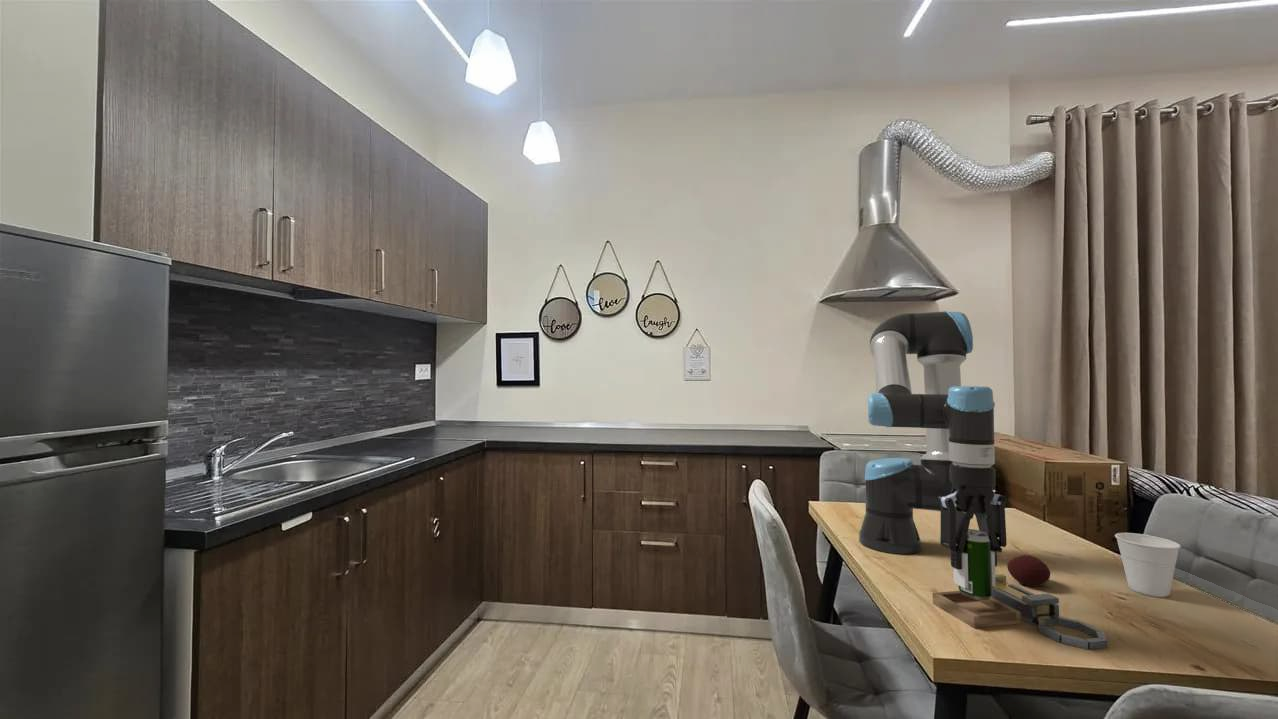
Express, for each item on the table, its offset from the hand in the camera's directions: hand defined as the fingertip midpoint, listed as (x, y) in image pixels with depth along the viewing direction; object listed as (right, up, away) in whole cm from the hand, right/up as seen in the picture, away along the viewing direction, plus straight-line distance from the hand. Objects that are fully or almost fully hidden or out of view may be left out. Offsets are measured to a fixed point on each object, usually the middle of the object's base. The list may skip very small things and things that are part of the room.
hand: (974, 584), depth 96 cm
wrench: (+11, -5, -3) cm, 13 cm away
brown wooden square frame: (0, -6, 0) cm, 6 cm away
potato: (+22, -6, +14) cm, 27 cm away
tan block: (+10, -5, +2) cm, 11 cm away
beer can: (0, -2, 0) cm, 2 cm away
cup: (+44, -6, +10) cm, 46 cm away
